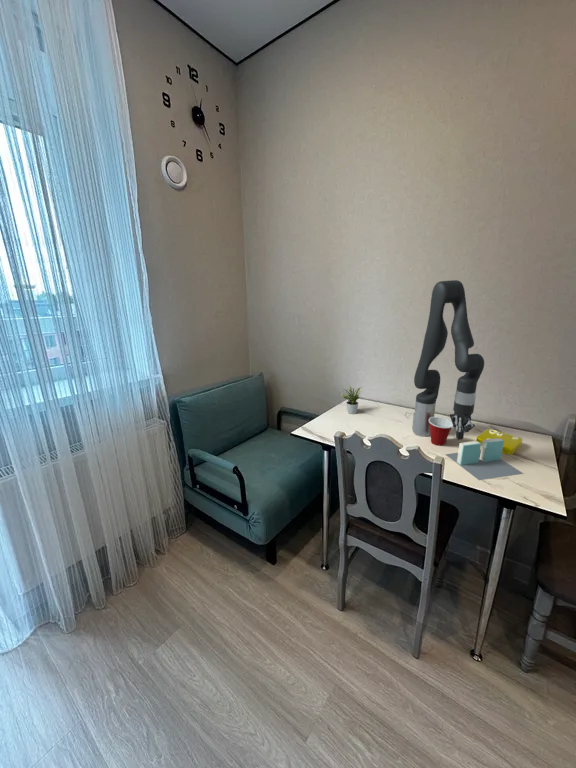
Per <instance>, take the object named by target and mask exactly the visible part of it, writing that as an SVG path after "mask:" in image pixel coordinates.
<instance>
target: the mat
mask: <svg viewBox="0 0 576 768" xmlns="http://www.w3.org/2000/svg"><path fill="white" fill-rule="evenodd" d="M480 454H481V449H480V453H479V459H478V463H473V464H466V465H460V464H459V463H457V457H458V452H454V453H446V454H445V456H447V457H448V458H450V459H451V460H452V461H453V462H455V463H456V464H457V465H458V466H460V467H461V468H463V469H464V470H465V471H466V472H467V473H469V474H470V475H471V476H473V477H474V478H475V479H476V480H478V481H484V480H492V479H497V478H504V477H509V476H515V475H522V474H524V473H523V471H520V470H519V469H517V468H515V467H514V466H512V465H511V464H510V463H508V462H506V461H505V460H503V459H500V460H494V461H487V462H483V461H482V460H480Z"/></svg>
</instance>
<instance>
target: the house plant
mask: <svg viewBox="0 0 576 768" xmlns="http://www.w3.org/2000/svg"><path fill="white" fill-rule="evenodd" d="M362 388H363V386H361V387H359V388H356V389H355V388H354V387H353V388H352V387H351V386H349V388H347V389H345V388H343V391H345V393H347V394H344V393H340V395H341V396H343V397H341V400H343V399H345V400H347V401H346V409H347V414H348V415H356V414H357V412H358V407H359V402H358V401H357V400H359V399H361V400H363V398H360V394H361V391H362Z"/></svg>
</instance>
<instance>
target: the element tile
mask: <svg viewBox="0 0 576 768" xmlns="http://www.w3.org/2000/svg"><path fill="white" fill-rule="evenodd" d="M495 438H500V439H502V440H504V444H503V449H502V454H505V455H513V454H514V453H515V452H516V451H517V450H518V449H521V448H522V443H523V438H522V437H520V436H516V435H514V434H513V435H512V434H509V433H505V432H502V431H499V430H494V429H491V428H487V429H485V430H484V431H482V432H481V433H480V434H479V435H477V436H476V440H475V441H478V442H479V443H481V447H482V442H483V440H488V439H495Z"/></svg>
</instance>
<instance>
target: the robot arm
mask: <svg viewBox="0 0 576 768" xmlns="http://www.w3.org/2000/svg"><path fill="white" fill-rule="evenodd" d="M465 291H466V290H465V287H464V284H463V283H462V282H461V281H460V280H457V279H456V280H455V279H454V280H441V281H438V282H436V283H435V284H434V286H433V288H432V291H431V299H430V307H429V313H428V314H429V315H428V320H427V325H426V330H425V334H424V339H423V343H422V348H421V353H420V358H419V362H418V364H417V367H416V369H415V374H414V378H413V383H414V386H415V388H416V389H420V390H423V391H422V392H419V393H417V394H416V396H415V406H414V412H413V419H412V427H411V429H412V432H413V434H415V435H417V436H419V437H420V436H421V437H430V424H429V418H431V417H435V413H436V404H437V399H438V397H439V390H440V387H441V386H440V385H441V374H440V372H439V370H437V369H429V368H430V366H431V364H432V363H433V362H434V361H435V360H436V358H437V357H438V356H439V355H440V354H441V353H442V352H443V350H444V349H445V346H446V344H447V339H448V334H449V332H448V327H447V325H446V323H445V320H444V311H445V310H444V309H445V306H446V304H451V305H452V307H453V319H452V322H451V327H450V334H451V338H452V341H453V345H454V366H455V367H456V369H457V370H458V371H459V372H461V373H464V374H463V375H462V376H460V377H458V379H457V382H456V383H457V384H456V389H455V395H454V401H453V409H452V411H453V413H450V414H449V417H450V421H451V422H452V424H453V427H452V428H455V430H456V432H455V438H456V439H457V440H460V441H461V440H463V439H464V436H465V433H469V432H470V431H471V430H472V429H474V428H475V426H476V424H475V423H473V422H472V415H473V414H474V410H475V404H476V396H477V395H476V392H477V385H478V382H479V379H480V378H481V375H482V373H483V371H484V369H485V368H484V367H485V359H484V357H483V356H482V355H481V354H479V353H469V349H471V348H473V347H474V345H475V340H474V337H473V333H472V331H471V328H470V327H471V326H470V324H469V319H468V318H469V317H468V310H467V300H466V292H465Z"/></svg>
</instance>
